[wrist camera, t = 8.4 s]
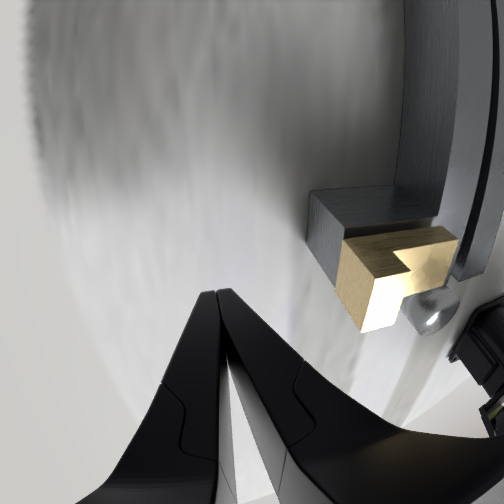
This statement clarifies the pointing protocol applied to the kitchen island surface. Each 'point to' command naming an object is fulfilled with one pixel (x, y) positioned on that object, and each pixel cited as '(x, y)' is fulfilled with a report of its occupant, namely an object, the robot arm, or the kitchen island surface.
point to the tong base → (423, 136)
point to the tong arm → (473, 205)
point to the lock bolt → (391, 271)
